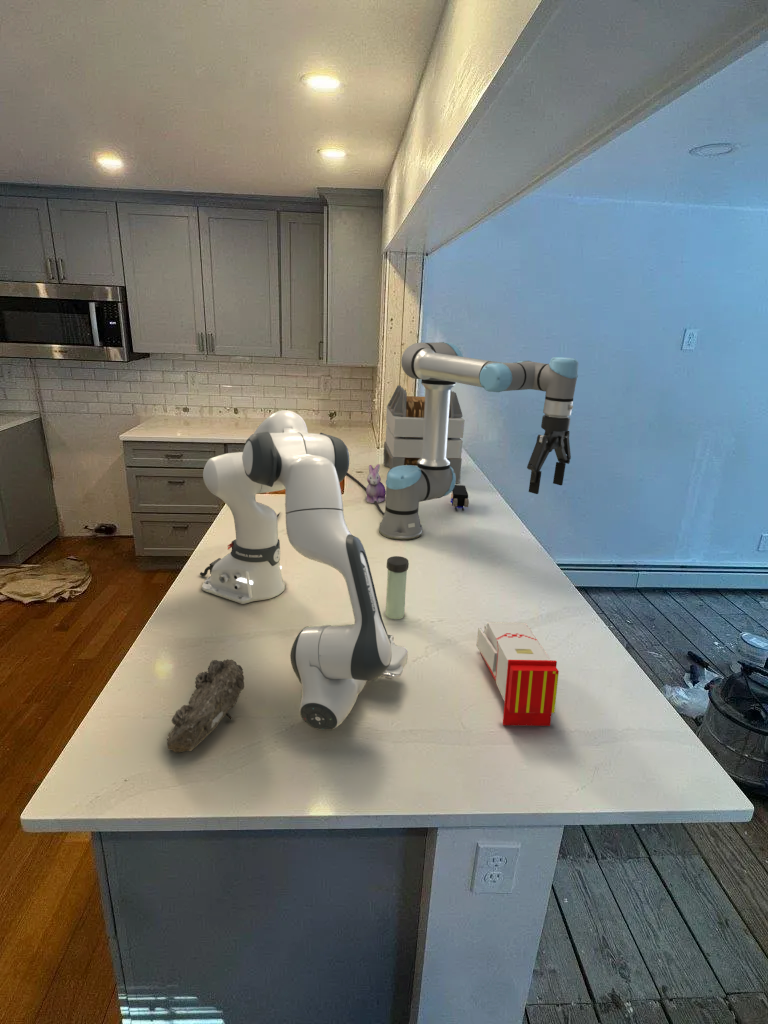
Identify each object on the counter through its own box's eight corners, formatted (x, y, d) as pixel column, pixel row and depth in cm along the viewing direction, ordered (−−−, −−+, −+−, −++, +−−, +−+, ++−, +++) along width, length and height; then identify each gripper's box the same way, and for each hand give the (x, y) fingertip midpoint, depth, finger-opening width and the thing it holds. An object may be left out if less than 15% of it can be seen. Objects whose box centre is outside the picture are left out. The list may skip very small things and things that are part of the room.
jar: (386, 619, 145) (389, 566, 140) (384, 610, 149) (386, 558, 144) (405, 619, 145) (408, 566, 140) (402, 609, 150) (405, 558, 145)
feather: (287, 506, 225) (290, 502, 224) (270, 530, 198) (272, 526, 198) (283, 504, 225) (286, 500, 224) (265, 527, 198) (268, 523, 197)
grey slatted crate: (382, 463, 289) (386, 382, 275) (445, 464, 293) (451, 384, 279) (390, 482, 257) (394, 392, 243) (460, 483, 261) (468, 394, 247)
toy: (524, 607, 134) (567, 667, 105) (519, 659, 137) (560, 732, 107) (473, 606, 133) (502, 666, 104) (469, 658, 136) (497, 731, 107)
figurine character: (468, 516, 224) (463, 500, 237) (471, 498, 221) (465, 483, 234) (452, 515, 224) (447, 499, 237) (453, 498, 220) (449, 482, 234)
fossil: (192, 660, 117) (244, 628, 112) (224, 691, 120) (276, 661, 115) (142, 746, 98) (202, 712, 93) (182, 779, 101) (242, 748, 96)
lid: (388, 572, 140) (388, 565, 139) (385, 563, 145) (385, 556, 144) (409, 572, 140) (410, 565, 140) (406, 563, 146) (406, 555, 145)
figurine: (370, 505, 227) (371, 469, 222) (359, 497, 235) (360, 462, 230) (391, 502, 231) (393, 467, 226) (379, 495, 240) (381, 460, 234)
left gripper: (399, 666, 111) (416, 630, 123) (303, 644, 116) (329, 612, 129) (397, 692, 113) (414, 655, 125) (303, 670, 118) (328, 636, 131)
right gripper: (545, 422, 146) (534, 500, 154) (590, 413, 163) (578, 483, 170) (520, 417, 151) (510, 493, 159) (566, 409, 168) (555, 478, 175)
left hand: (370, 633), depth 127 cm, fingers open, 8 cm apart
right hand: (545, 488), depth 164 cm, fingers open, 13 cm apart
